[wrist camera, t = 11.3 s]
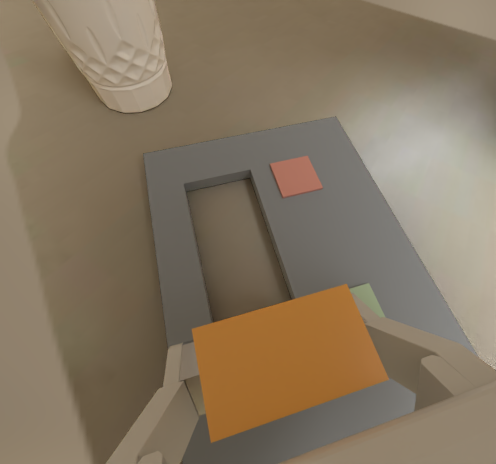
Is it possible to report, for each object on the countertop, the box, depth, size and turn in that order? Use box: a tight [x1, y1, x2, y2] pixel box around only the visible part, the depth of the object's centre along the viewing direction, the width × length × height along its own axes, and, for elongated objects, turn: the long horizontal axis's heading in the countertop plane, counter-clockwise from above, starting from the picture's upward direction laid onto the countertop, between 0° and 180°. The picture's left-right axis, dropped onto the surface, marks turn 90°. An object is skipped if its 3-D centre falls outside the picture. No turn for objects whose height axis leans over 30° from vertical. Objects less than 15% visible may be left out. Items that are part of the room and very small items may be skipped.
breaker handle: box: [192, 284, 389, 443], centre depth 10 cm, size 2×4×8 cm, turn 105°
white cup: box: [32, 0, 172, 113], centre depth 18 cm, size 8×8×10 cm
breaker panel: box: [143, 117, 478, 464], centre depth 15 cm, size 20×16×1 cm
